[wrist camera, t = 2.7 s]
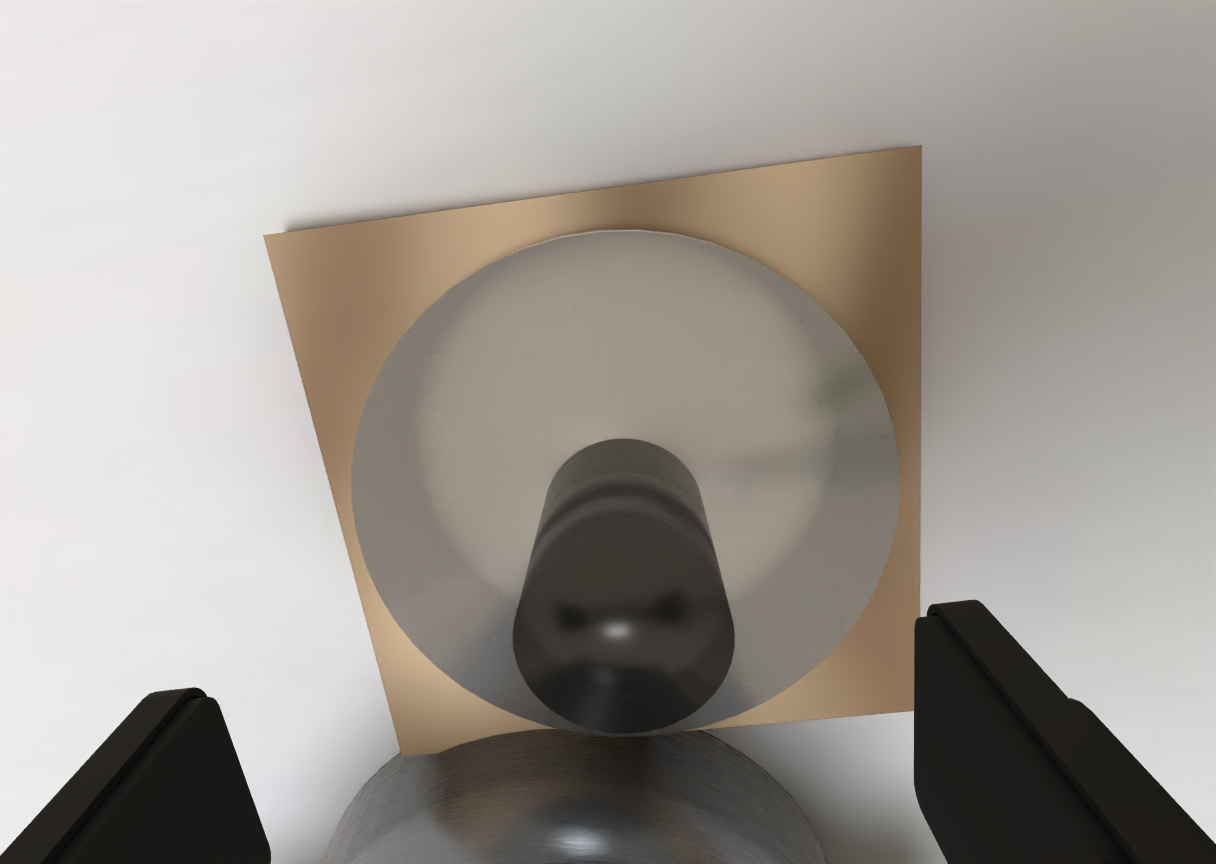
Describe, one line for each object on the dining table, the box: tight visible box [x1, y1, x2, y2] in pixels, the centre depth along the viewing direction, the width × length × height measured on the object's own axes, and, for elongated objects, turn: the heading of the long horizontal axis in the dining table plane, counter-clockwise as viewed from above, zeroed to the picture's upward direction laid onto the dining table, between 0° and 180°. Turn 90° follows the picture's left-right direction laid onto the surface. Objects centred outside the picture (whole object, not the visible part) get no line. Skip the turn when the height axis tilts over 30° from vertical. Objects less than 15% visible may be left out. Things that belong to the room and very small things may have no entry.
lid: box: [351, 228, 901, 737], centre depth 15 cm, size 12×12×6 cm
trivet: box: [263, 145, 922, 756], centre depth 18 cm, size 14×14×1 cm
